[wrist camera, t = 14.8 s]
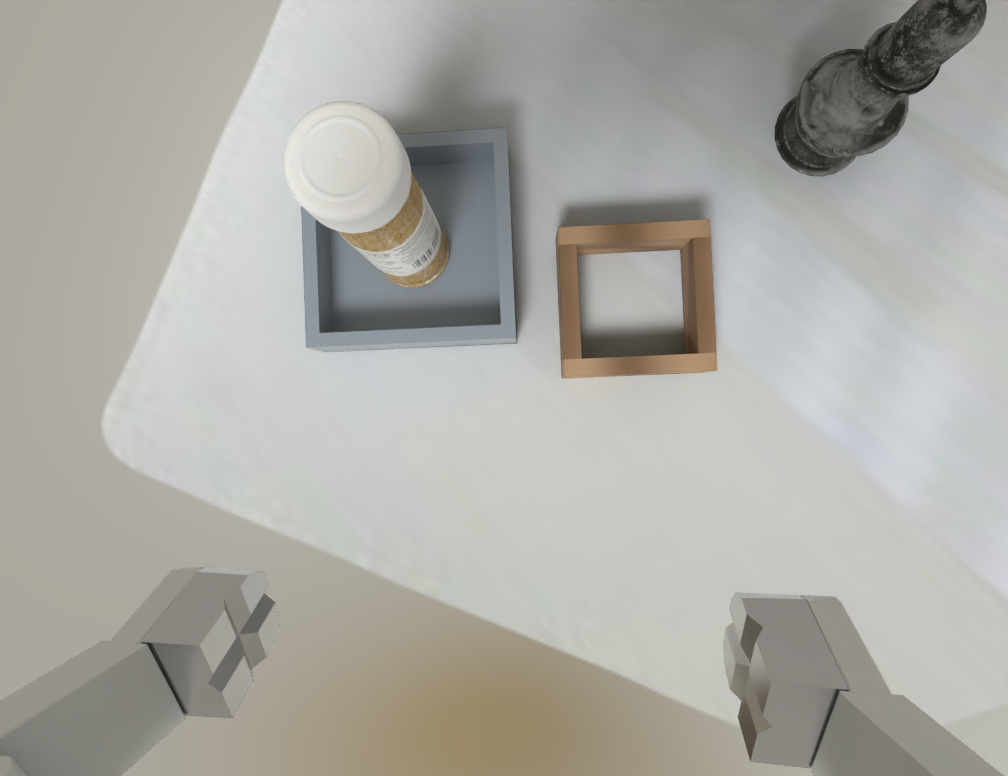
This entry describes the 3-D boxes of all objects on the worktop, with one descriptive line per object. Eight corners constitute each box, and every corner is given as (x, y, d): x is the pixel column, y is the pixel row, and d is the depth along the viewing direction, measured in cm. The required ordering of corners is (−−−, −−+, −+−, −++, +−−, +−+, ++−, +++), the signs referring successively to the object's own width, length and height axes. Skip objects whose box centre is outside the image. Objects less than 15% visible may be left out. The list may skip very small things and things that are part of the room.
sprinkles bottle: (417, 201, 34) (345, 70, 20) (465, 256, 33) (427, 161, 20) (361, 251, 34) (253, 153, 20) (410, 306, 33) (333, 244, 20)
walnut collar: (696, 232, 33) (709, 219, 31) (702, 372, 33) (717, 370, 31) (555, 240, 34) (558, 227, 31) (561, 378, 34) (564, 376, 31)
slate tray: (508, 151, 34) (506, 127, 31) (516, 343, 34) (515, 338, 31) (318, 162, 34) (298, 139, 31) (325, 351, 34) (306, 347, 31)
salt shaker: (764, 91, 33) (899, -80, 21) (862, 80, 33) (1052, -99, 21) (774, 186, 33) (915, 66, 21) (872, 175, 33) (1070, 49, 21)
